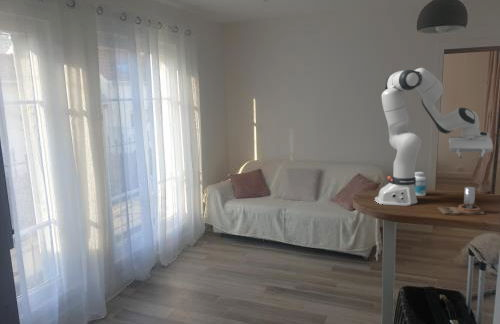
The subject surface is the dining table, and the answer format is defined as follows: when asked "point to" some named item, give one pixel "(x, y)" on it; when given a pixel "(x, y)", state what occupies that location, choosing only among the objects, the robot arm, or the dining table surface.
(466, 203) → the steel peg
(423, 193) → the pill bottle
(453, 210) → the gauge board
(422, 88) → the robot arm
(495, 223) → the dining table surface
